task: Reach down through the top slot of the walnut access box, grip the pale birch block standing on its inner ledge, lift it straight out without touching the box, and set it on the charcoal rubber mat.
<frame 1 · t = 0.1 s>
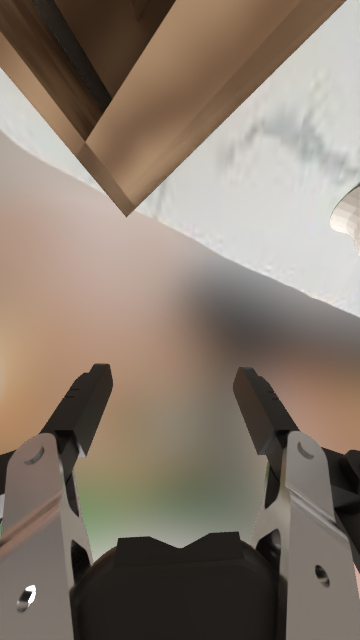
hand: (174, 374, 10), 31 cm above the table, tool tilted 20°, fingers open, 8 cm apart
cup: (353, 208, 30), on the table
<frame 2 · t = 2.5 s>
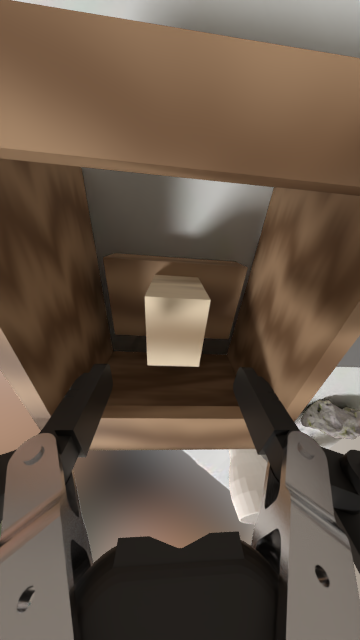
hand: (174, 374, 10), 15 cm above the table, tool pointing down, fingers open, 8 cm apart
block: (174, 304, 20), point 4 cm above the table, touching access box
cup: (236, 429, 43), on the table
rock: (326, 406, 39), on the table
access box: (174, 293, 23), on the table
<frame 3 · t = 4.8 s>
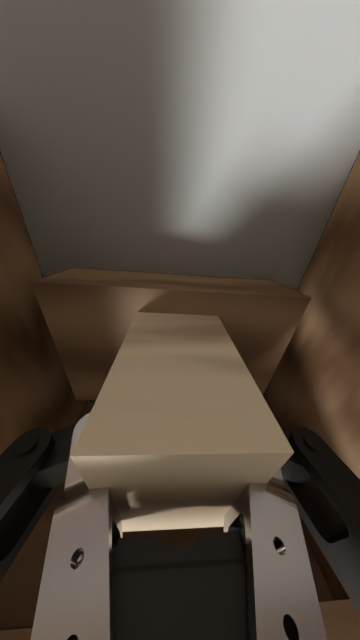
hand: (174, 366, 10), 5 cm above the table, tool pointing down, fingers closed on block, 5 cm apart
block: (174, 357, 11), point 4 cm above the table, touching access box, gripper
access box: (174, 328, 15), on the table
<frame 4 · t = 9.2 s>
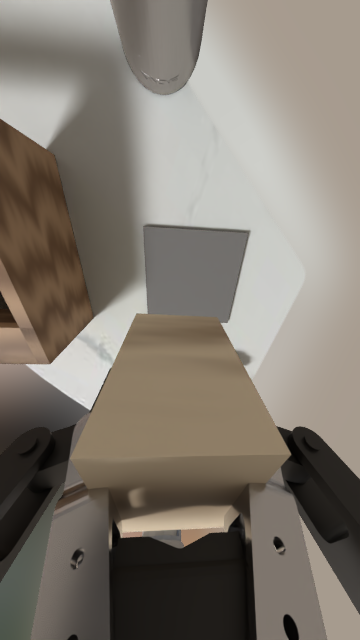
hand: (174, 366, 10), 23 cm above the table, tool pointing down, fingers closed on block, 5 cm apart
block: (174, 358, 11), point 23 cm above the table, touching gripper
access box: (7, 250, 27), on the table
mat: (191, 281, 31), on the table
canister: (165, 421, 55), on the table
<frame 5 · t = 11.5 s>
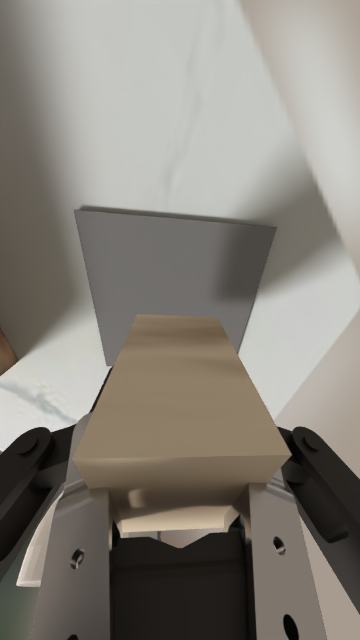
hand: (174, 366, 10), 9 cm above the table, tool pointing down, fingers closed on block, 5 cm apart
block: (174, 358, 11), point 8 cm above the table, touching gripper
cup: (102, 446, 34), on the table
mat: (174, 308, 19), on the table
when the fingers open (3 cm above the table, at t = 13.7 s): block drops 2 cm, resting on mat.
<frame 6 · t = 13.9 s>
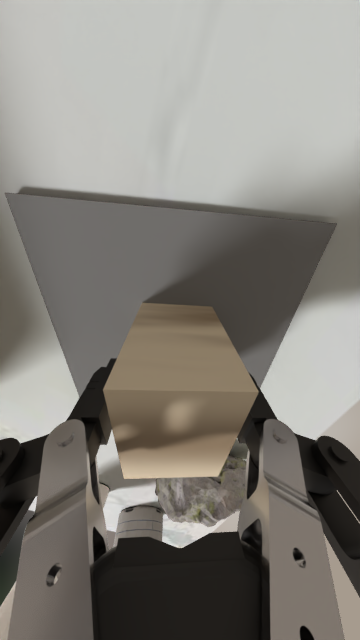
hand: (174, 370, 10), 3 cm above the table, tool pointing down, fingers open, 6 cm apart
block: (174, 344, 13), point 1 cm above the table, touching mat
cup: (88, 487, 29), on the table
rock: (201, 454, 25), on the table
mat: (174, 338, 13), on the table
canister: (141, 510, 37), on the table
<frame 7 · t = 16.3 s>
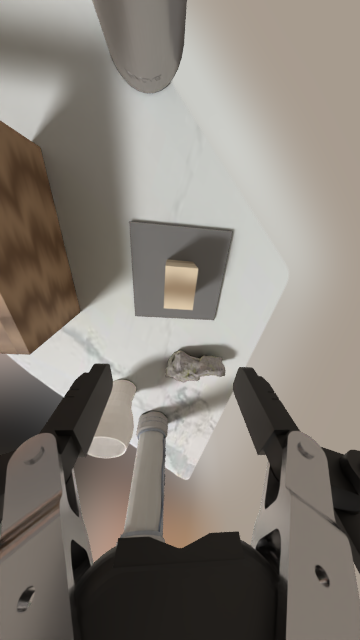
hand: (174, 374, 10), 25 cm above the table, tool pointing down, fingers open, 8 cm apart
block: (178, 278, 31), point 1 cm above the table, touching mat
cup: (123, 387, 47), on the table
rock: (191, 358, 43), on the table
mat: (178, 277, 32), on the table
canister: (153, 418, 55), on the table
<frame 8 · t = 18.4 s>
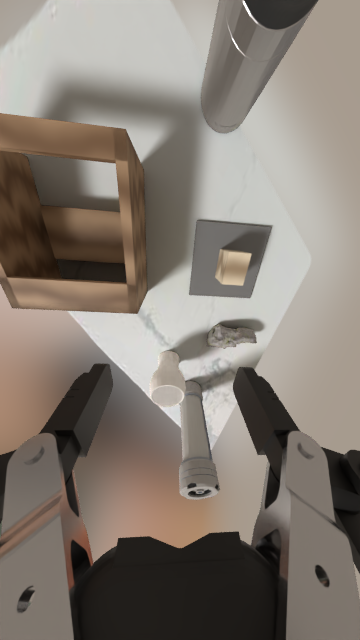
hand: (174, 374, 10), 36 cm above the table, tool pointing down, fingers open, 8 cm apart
block: (226, 264, 41), point 1 cm above the table, touching mat
cup: (168, 358, 57), on the table
rock: (226, 331, 52), on the table
access box: (94, 236, 37), on the table
mat: (226, 263, 42), on the table
canister: (188, 388, 65), on the table
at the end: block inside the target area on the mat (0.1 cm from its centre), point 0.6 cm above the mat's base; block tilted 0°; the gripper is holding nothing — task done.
